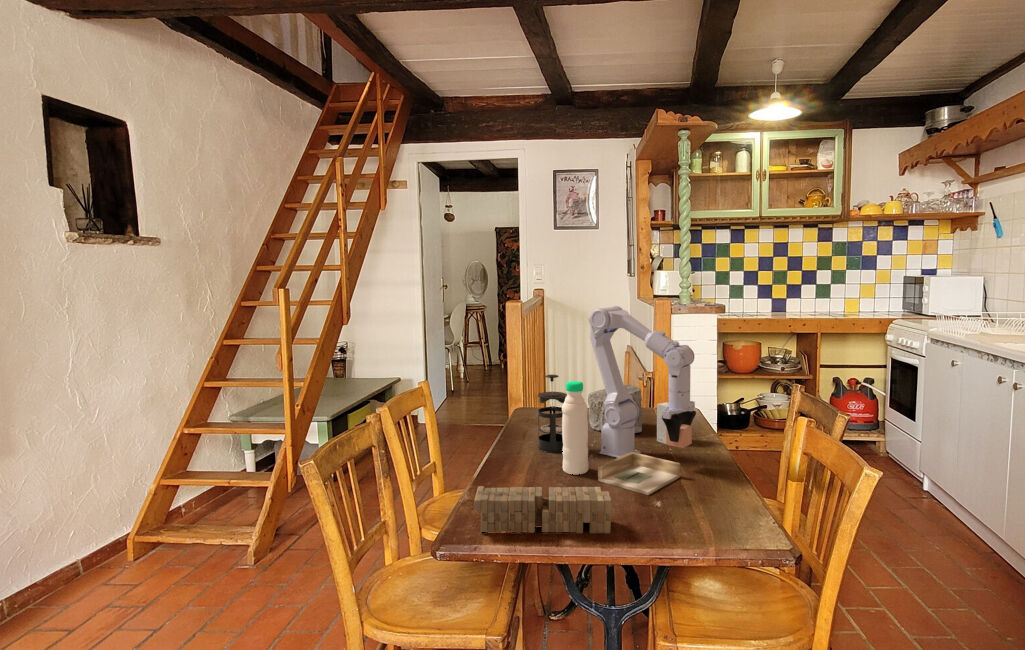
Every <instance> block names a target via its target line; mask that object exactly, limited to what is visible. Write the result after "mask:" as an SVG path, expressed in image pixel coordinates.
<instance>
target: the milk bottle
mask: <svg viewBox="0 0 1025 650" xmlns="http://www.w3.org/2000/svg"><path fill="white" fill-rule="evenodd" d="M583 390H584V384H583V382H582V381H579V380H571V381H570V380H569V381H567V382H566V383H565V392H566V394H567V396H566V397H565V402H564V403H562V406H561V407H562V412H561V413H563V416H562V417H561V418H562V419H561V425H562V433H561V434H562V438H563V452H562V470H563V472H564V473H566V474H568V475H572V474H573V475H575V476H577V475H579V474H580V475H584V474H586V473H588V471H589V460H588V458H589V457H588V456H589V447H588V441H589V440H588V439H589V421H588V420H589V418H588V413H589V406H588V405H587V402H586V401H585V399H584V396H583V395H582V393H583Z"/></svg>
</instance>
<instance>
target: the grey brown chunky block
mask: <svg viewBox="0 0 1025 650" xmlns="http://www.w3.org/2000/svg"><path fill="white" fill-rule="evenodd" d="M624 388H625V391H627V392H628V393H629V394H631V395H632V398H633V400H634V402H635V403H636V404H637V406H638V408H639V416H638V418H637V419H636V420H635V424H634V434H637V433H642V431H643V428H642V426H643V409H642V402H643V397H642V388H640V387H637V386H633V385H631V384H630V385H629V384H624ZM606 398H607V392H606V389H605V388H604V389H600V390H596V391H593V392H590V393H588V394H587V403H588V413H589V416H588V417H589V418H588V420H589V421H588V423H589V426H590V428H591V429H592V430H594V431H598V432H601V430H602V427H603V425H604V424H605V423H607V421H606V419H605V407H604V402H605V400H606ZM618 404H619V403H618Z"/></svg>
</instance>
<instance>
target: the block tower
mask: <svg viewBox="0 0 1025 650" xmlns="http://www.w3.org/2000/svg"><path fill="white" fill-rule="evenodd" d="M473 505H474V506H473V509H474V510H473V511H474V512H480V533H481V532H486V531H488V532H494V531H495V532H500V531H506V532H507V531H512V532H514V531H516V532H521V531H528V532H535V533H536V528H535V526H542V528H541V533H542V532H576V533H575V534H583V533H584V523H585V524H587V526H588V530H589V531H588V532H589V534H611V530H612V529H611V520H612V498H611V496H610V492H609V491H608V490H603V491H602V487H601V486H594V487H593V486H575V487H574V486H569V487H567V486H566V487H565V486H563V487H561V486H555V487H554V486H549V487H548V497H543V487H542V486H534V487H531V486H530V487H527V486H510V487H485V486H484V485H483V486H482V485H479V486H478V487H477V490H476V493H475V496H474V501H473Z"/></svg>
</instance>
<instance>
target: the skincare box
mask: <svg viewBox="0 0 1025 650" xmlns="http://www.w3.org/2000/svg"><path fill="white" fill-rule="evenodd" d="M667 406H668V402H667V401H666V402H661V403H656V442H658V443H661V444H664V445H666V425H665V423H664V421H663V420H662V415H663V411H664V410H665V409H666V407H667Z"/></svg>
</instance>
